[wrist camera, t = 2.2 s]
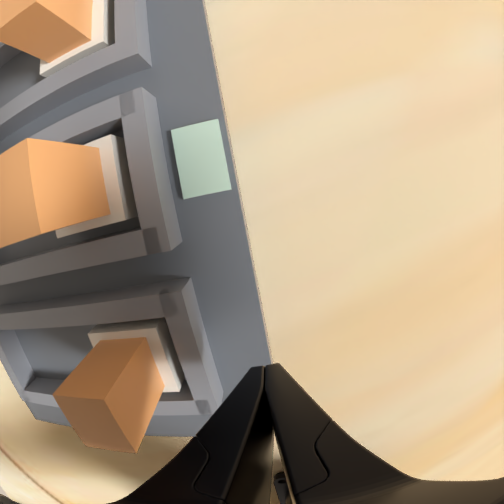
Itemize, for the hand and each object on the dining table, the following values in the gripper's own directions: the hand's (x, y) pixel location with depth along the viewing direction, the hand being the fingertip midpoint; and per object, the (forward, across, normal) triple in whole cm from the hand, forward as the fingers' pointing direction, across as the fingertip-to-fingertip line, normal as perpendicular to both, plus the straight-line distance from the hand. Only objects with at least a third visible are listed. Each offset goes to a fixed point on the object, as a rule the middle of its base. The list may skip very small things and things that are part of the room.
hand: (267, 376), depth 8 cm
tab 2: (+2, +5, -7) cm, 9 cm away
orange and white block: (+3, +5, 0) cm, 6 cm away
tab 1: (+2, +5, -13) cm, 14 cm away
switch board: (+4, +8, -6) cm, 10 cm away
